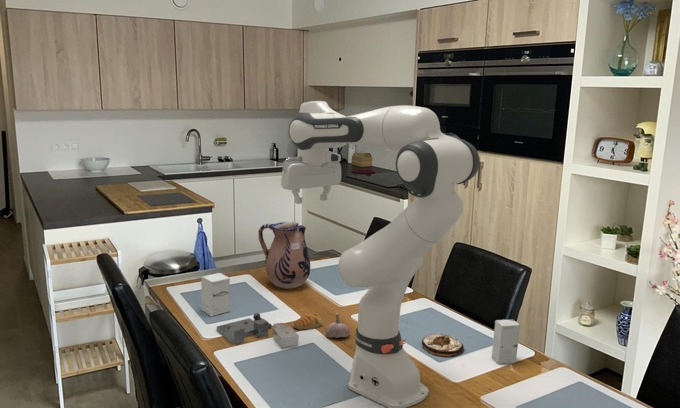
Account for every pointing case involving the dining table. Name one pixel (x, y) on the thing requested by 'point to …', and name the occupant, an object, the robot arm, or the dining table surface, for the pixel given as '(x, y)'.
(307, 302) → the dining table surface
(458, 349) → the brown flat two-tone disc
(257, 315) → the hinge pin
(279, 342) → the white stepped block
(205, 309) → the supplement box
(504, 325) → the skincare box
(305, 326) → the pastry
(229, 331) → the gunmetal leaf
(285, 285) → the ceramic pitcher
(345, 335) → the garlic bulb
